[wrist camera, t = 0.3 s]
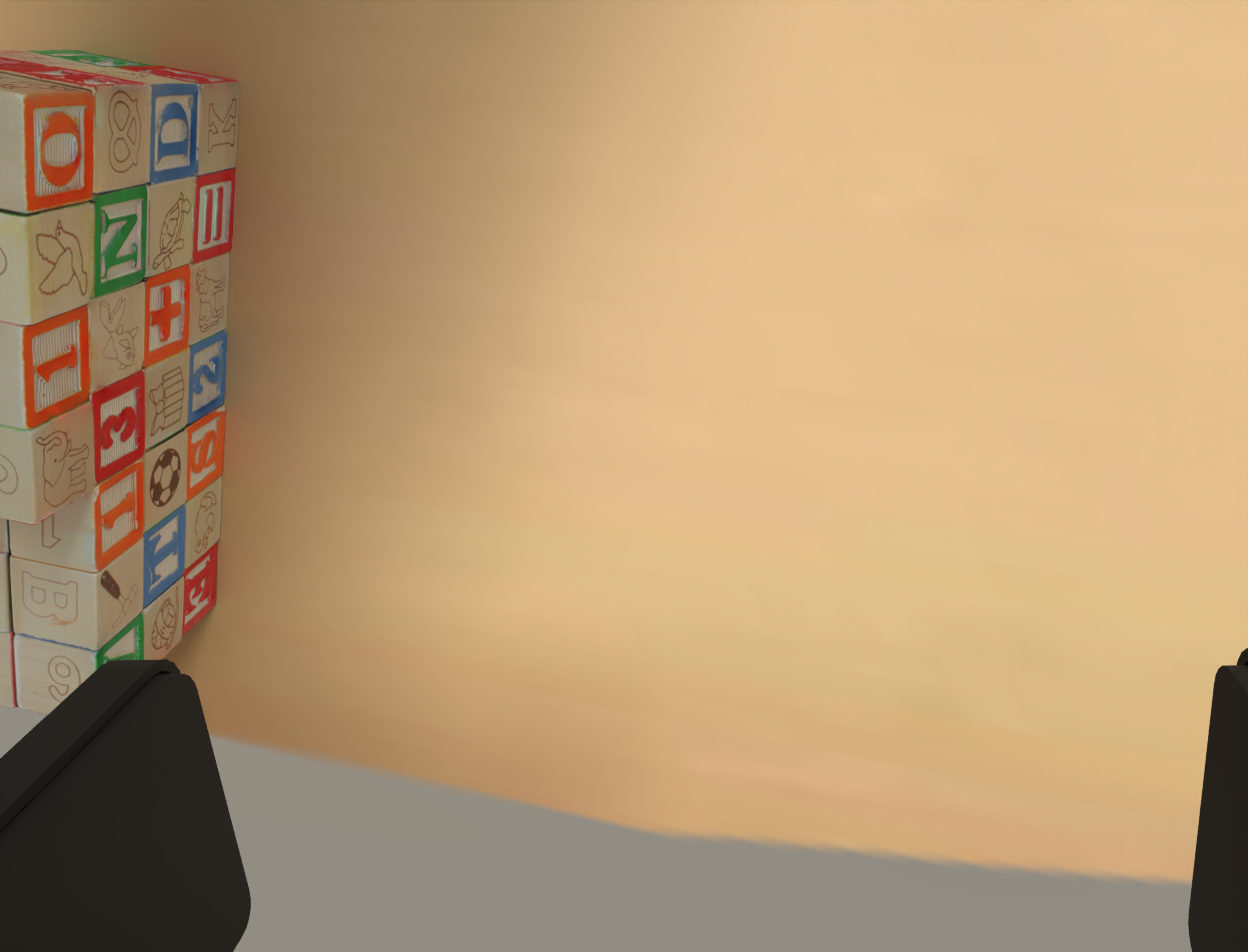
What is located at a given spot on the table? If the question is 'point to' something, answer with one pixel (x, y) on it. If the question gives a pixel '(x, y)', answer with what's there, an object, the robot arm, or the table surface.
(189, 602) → the stack of blocks
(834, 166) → the table surface
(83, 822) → the robot arm
